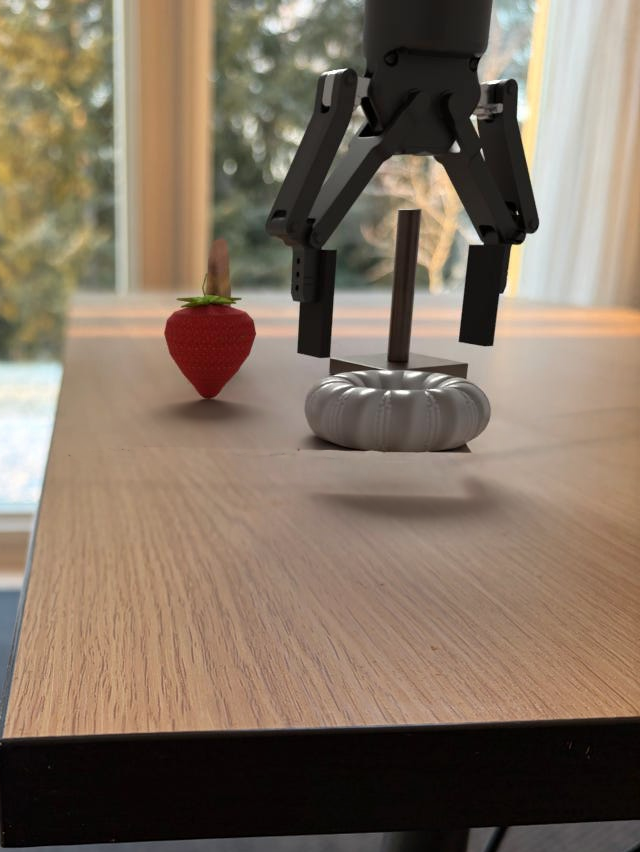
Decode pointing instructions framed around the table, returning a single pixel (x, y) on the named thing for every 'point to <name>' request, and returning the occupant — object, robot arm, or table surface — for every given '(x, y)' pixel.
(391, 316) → the stand
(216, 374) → the strawberry
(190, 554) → the table surface
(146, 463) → the table surface
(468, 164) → the robot arm
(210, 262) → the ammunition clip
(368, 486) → the table surface
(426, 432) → the ring
